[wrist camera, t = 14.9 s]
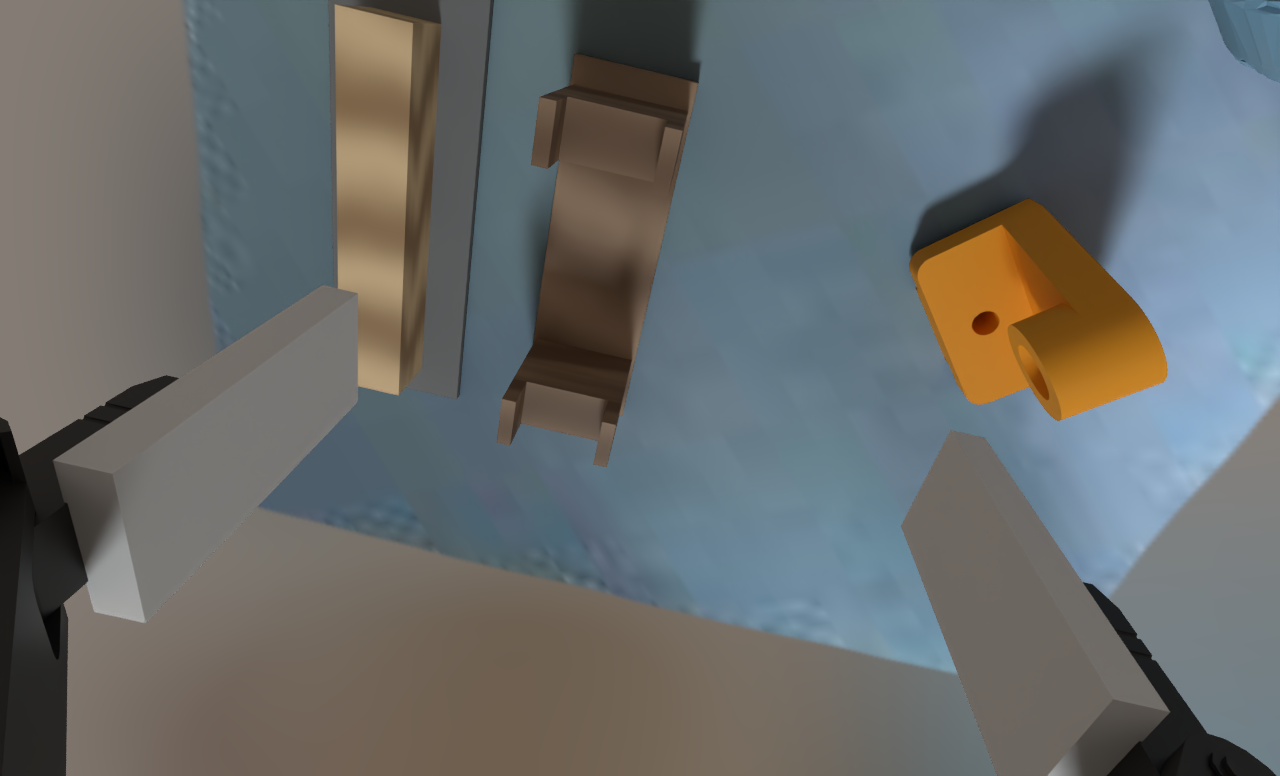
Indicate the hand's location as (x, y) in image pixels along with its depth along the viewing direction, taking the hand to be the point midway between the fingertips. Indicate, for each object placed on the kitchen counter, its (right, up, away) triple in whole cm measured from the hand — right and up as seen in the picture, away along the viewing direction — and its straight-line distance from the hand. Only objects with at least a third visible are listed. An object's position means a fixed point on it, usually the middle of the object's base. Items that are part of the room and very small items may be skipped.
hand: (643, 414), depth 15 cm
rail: (-15, +12, +27) cm, 33 cm away
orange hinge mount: (+22, +6, +27) cm, 36 cm away
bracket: (-2, +9, +28) cm, 30 cm away
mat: (-15, +12, +28) cm, 34 cm away
